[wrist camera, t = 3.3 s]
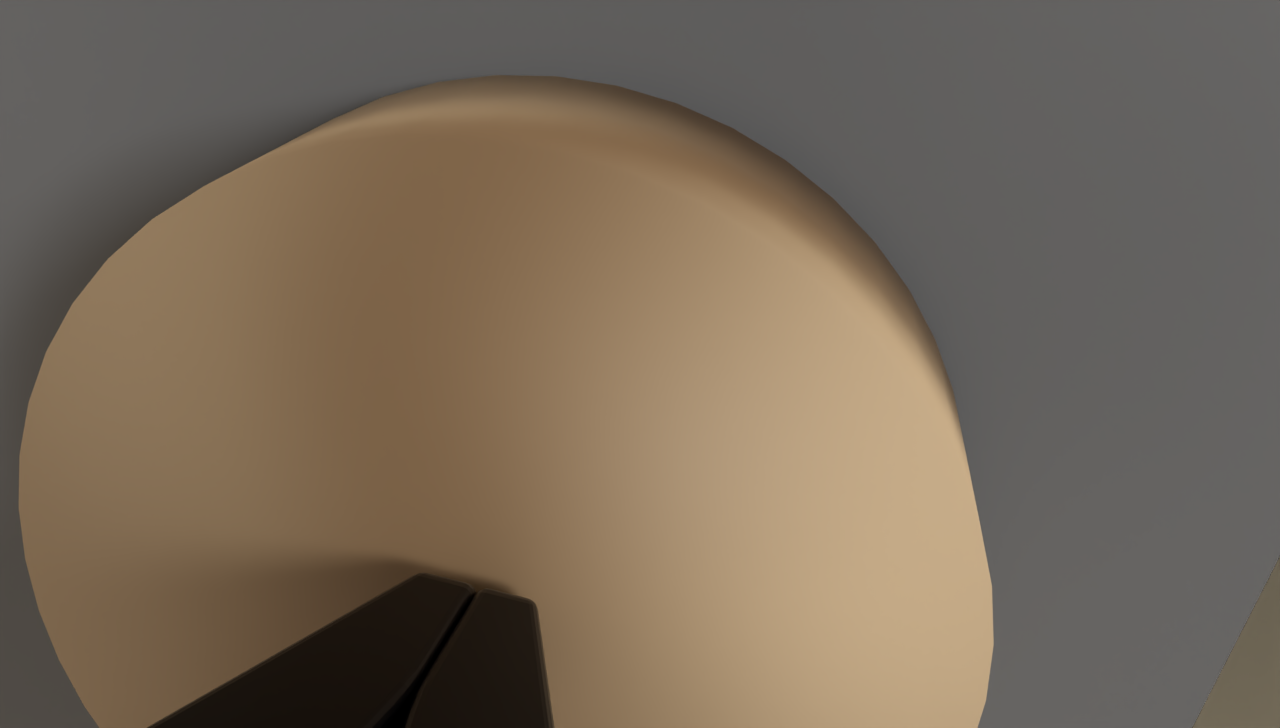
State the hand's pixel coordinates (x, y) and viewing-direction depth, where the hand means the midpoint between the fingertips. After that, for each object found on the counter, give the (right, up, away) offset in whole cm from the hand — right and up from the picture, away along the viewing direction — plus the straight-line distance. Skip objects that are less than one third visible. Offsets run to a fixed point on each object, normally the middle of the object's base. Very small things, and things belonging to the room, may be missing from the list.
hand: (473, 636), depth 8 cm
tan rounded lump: (+1, +2, +6) cm, 6 cm away
